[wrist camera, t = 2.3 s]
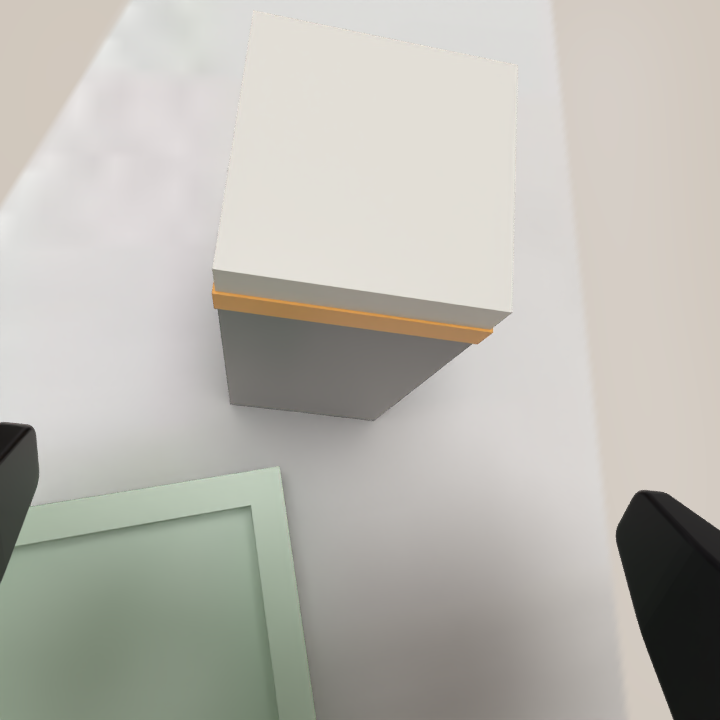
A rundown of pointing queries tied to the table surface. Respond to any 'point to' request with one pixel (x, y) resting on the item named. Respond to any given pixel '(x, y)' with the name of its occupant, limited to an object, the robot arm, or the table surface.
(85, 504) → the tray
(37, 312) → the table surface
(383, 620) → the table surface
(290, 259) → the grey tall block
